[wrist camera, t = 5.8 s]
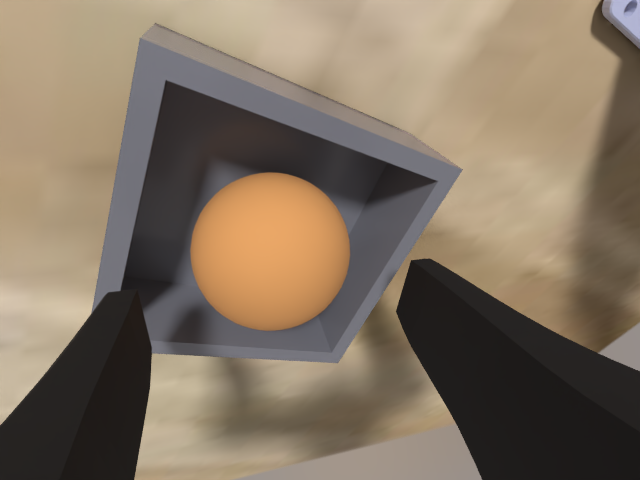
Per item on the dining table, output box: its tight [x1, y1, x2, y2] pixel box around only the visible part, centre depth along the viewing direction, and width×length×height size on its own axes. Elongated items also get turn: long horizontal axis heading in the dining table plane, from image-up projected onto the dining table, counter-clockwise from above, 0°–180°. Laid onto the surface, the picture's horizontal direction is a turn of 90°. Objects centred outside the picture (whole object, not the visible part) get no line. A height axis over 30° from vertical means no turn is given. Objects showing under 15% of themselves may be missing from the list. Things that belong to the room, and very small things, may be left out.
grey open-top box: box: [91, 23, 463, 363], centre depth 13 cm, size 9×9×4 cm
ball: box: [190, 172, 350, 331], centre depth 12 cm, size 5×5×5 cm
